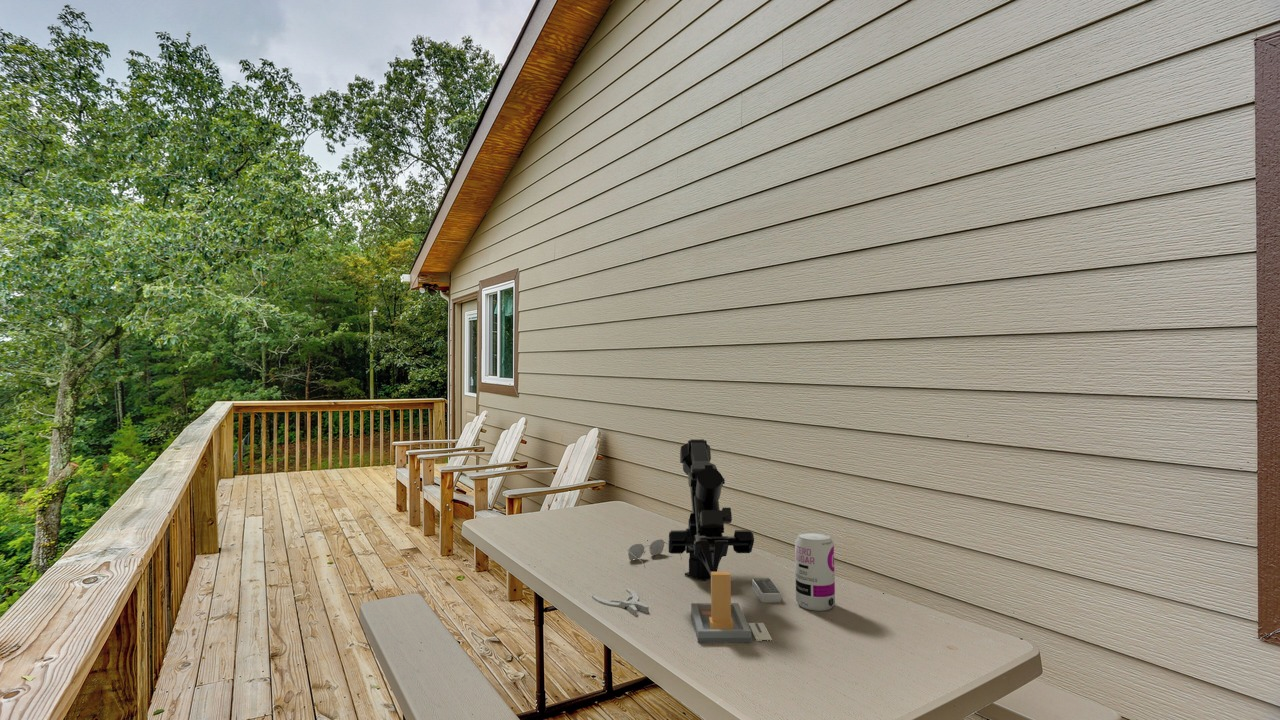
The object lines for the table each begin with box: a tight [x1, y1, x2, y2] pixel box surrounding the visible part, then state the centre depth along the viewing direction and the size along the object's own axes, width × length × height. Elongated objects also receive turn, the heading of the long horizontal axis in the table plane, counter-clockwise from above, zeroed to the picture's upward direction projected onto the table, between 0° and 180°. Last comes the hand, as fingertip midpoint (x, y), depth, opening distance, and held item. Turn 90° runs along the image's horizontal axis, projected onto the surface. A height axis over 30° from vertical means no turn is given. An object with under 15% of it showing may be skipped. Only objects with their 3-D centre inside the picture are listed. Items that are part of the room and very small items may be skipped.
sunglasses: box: [627, 538, 683, 568], centre depth 168 cm, size 14×8×5 cm, turn 128°
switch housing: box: [690, 602, 773, 643], centre depth 122 cm, size 15×14×2 cm
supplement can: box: [794, 531, 836, 612], centre depth 134 cm, size 8×8×15 cm
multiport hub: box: [751, 577, 782, 603], centre depth 141 cm, size 4×11×2 cm, turn 1°
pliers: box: [591, 588, 650, 616], centre depth 135 cm, size 10×2×15 cm
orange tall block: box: [709, 571, 734, 629], centre depth 119 cm, size 3×4×10 cm
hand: (713, 577), depth 130 cm, fingers closed
